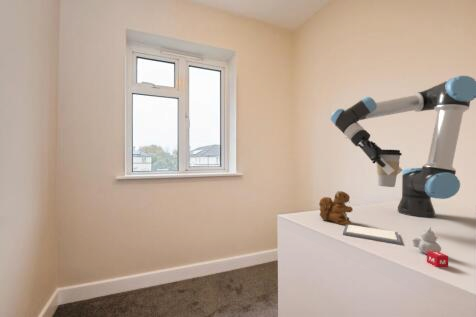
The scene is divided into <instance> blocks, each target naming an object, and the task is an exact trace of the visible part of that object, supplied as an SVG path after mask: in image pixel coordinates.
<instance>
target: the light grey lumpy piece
mask: <svg viewBox="0 0 476 317" xmlns="http://www.w3.org/2000/svg"><path fill="white" fill-rule="evenodd" d="M420 237H421V238H419V237H412V238H411V240H412V246H413V247H414V248H418V249H419V250H420V252H422V253H423V254H425V255H427V251H438V252H440V253H441V252H442V246H441V245H440V244H439V243H437V240H438V237H437V236H436V235H435V233H434V231H432V227H431V226H429V228H428V229H426V230H424V231H423V232H421V234H420Z"/></svg>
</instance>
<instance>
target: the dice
mask: <svg viewBox="0 0 476 317" xmlns="http://www.w3.org/2000/svg"><path fill="white" fill-rule="evenodd" d="M427 262H428V263H427ZM426 263H427V264H429V263H430V264H429V265H431V264H432V265H431V266H433V265H434V266H433V267H435V268H437V267H448V268H449V255H447V254H444V253H443V252H441V251H440V252H438V251H427V254H426Z"/></svg>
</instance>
